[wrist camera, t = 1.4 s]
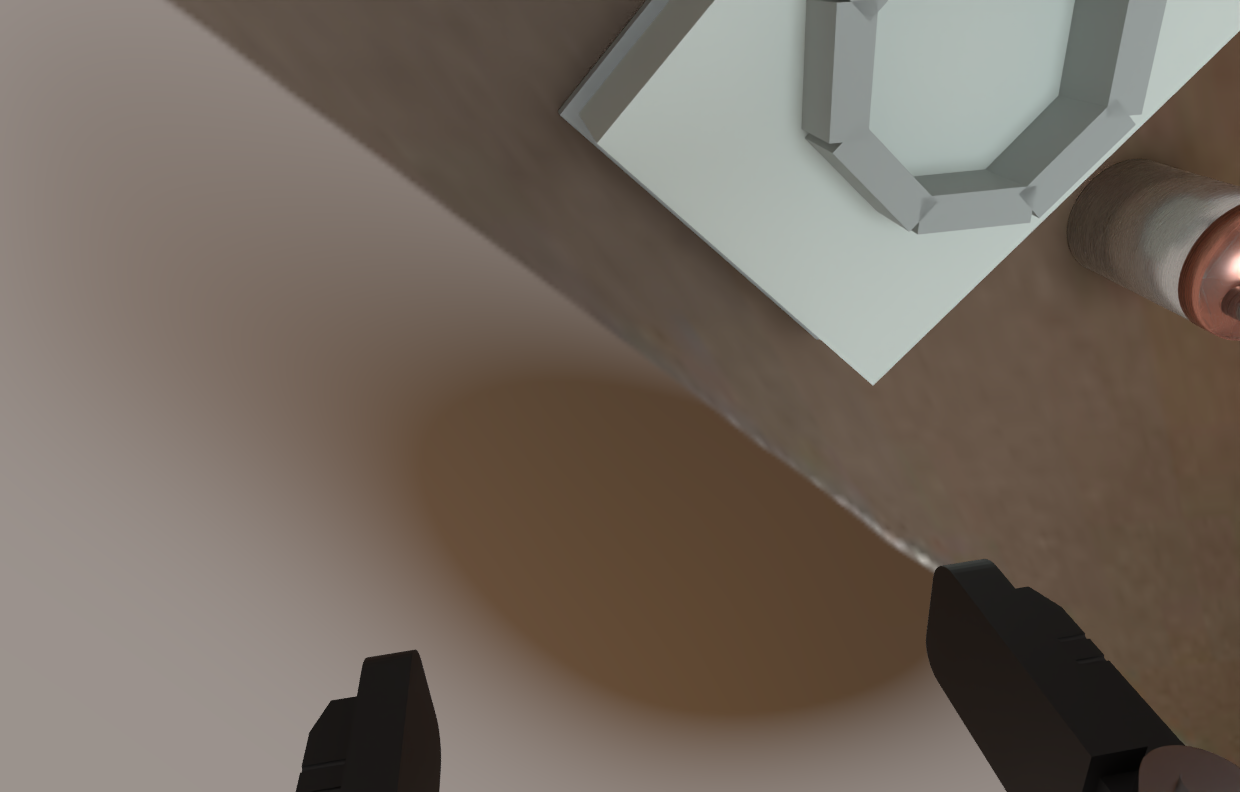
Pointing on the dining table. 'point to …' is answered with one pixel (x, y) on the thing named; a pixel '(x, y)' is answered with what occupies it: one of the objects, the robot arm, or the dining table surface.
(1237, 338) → the spout can
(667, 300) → the dining table surface
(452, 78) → the dining table surface
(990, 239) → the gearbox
